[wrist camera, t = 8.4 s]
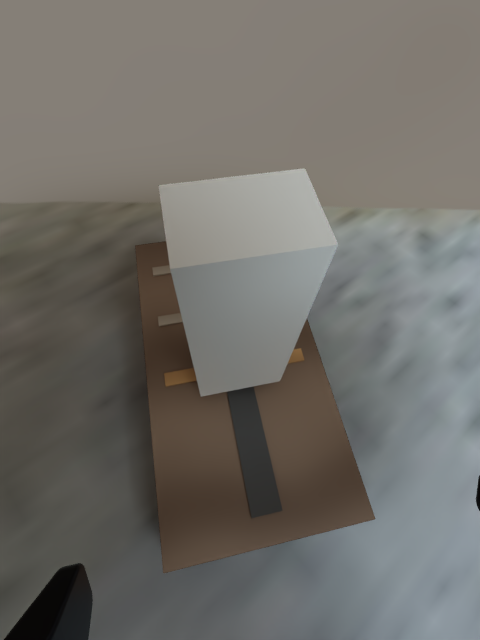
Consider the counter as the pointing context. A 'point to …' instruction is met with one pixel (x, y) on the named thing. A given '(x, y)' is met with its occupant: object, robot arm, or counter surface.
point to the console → (239, 443)
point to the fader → (245, 271)
